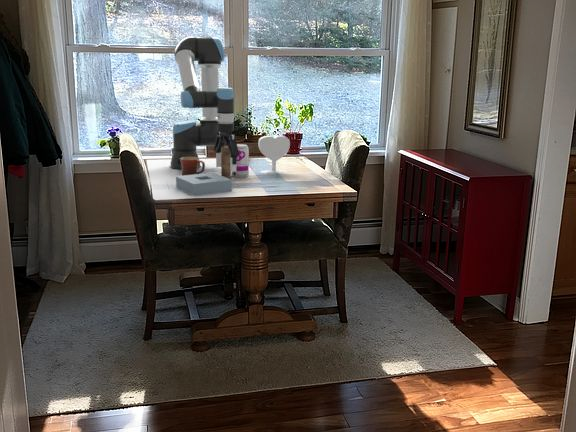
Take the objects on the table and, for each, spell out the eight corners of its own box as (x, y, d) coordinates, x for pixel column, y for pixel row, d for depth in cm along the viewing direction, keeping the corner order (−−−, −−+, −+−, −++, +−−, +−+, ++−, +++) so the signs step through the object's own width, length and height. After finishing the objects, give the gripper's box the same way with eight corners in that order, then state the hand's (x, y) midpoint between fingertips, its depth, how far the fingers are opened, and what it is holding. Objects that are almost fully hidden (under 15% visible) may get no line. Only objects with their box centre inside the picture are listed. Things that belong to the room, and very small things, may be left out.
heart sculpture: (287, 170, 314) (288, 135, 309) (289, 172, 309) (290, 136, 304) (257, 171, 310) (257, 135, 305) (259, 173, 306) (259, 136, 301)
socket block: (176, 187, 272) (175, 176, 270) (212, 183, 281) (212, 172, 280) (194, 195, 257) (193, 184, 256) (231, 190, 267) (231, 179, 266)
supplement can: (246, 178, 293) (246, 146, 289) (229, 177, 295) (229, 146, 291) (250, 174, 301) (250, 144, 297) (234, 173, 303) (234, 143, 299)
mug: (177, 181, 284) (176, 159, 282) (186, 177, 292) (185, 156, 290) (200, 183, 281) (200, 161, 278) (208, 179, 289) (208, 158, 286)
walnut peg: (219, 181, 286) (219, 147, 281) (228, 180, 288) (227, 146, 284) (224, 183, 282) (223, 148, 278) (232, 181, 285) (232, 147, 280)
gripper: (205, 120, 286) (206, 165, 291) (231, 125, 266) (232, 174, 271) (220, 119, 290) (220, 164, 295) (246, 124, 270) (247, 172, 275)
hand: (226, 169), depth 283 cm, fingers open, 13 cm apart
